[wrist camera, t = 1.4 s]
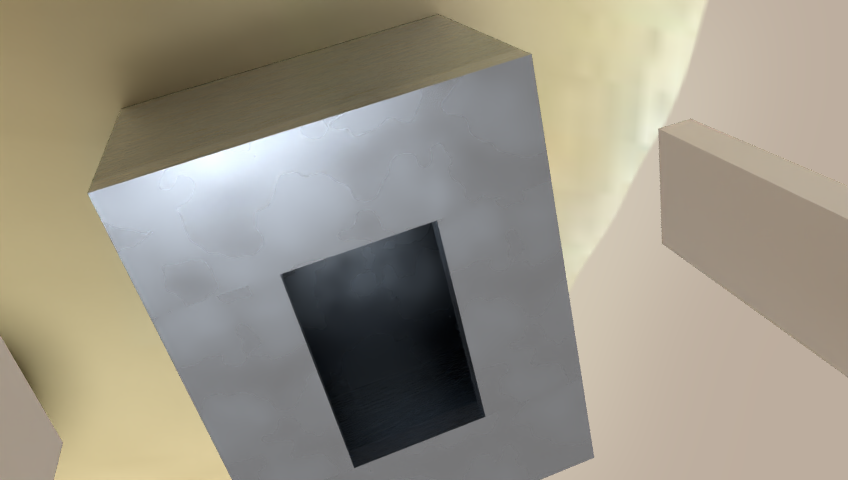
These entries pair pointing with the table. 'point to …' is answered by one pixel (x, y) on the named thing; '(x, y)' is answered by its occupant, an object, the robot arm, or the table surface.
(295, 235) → the coin box
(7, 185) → the table surface
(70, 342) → the table surface
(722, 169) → the robot arm
